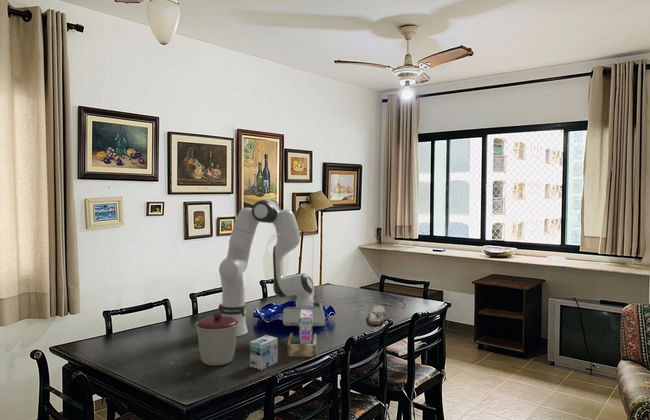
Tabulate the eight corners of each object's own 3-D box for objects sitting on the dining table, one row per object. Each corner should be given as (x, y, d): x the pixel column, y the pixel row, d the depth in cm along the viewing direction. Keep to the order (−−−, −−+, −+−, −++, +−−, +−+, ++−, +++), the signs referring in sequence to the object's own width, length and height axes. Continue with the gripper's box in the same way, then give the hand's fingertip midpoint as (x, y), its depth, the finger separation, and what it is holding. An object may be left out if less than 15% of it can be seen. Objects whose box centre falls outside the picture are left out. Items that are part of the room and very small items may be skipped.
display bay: (287, 356, 208) (287, 344, 207) (290, 343, 224) (290, 332, 224) (315, 356, 208) (315, 345, 207) (316, 343, 224) (316, 333, 224)
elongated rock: (387, 312, 287) (370, 312, 289) (386, 303, 287) (370, 303, 289) (385, 326, 253) (366, 326, 254) (384, 316, 253) (366, 316, 254)
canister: (198, 372, 189) (198, 320, 187) (192, 357, 205) (192, 308, 204) (243, 366, 196) (244, 315, 195) (234, 351, 212) (234, 305, 211)
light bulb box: (261, 371, 191) (262, 344, 191) (249, 367, 195) (249, 341, 194) (278, 362, 200) (278, 337, 200) (265, 359, 204) (265, 334, 203)
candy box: (311, 354, 210) (312, 317, 210) (298, 354, 210) (298, 317, 210) (312, 343, 224) (312, 309, 223) (299, 343, 224) (300, 309, 223)
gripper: (283, 303, 231) (281, 329, 222) (325, 304, 231) (324, 330, 222) (284, 310, 236) (281, 335, 227) (325, 310, 236) (324, 336, 227)
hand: (303, 333), depth 224 cm, fingers closed
